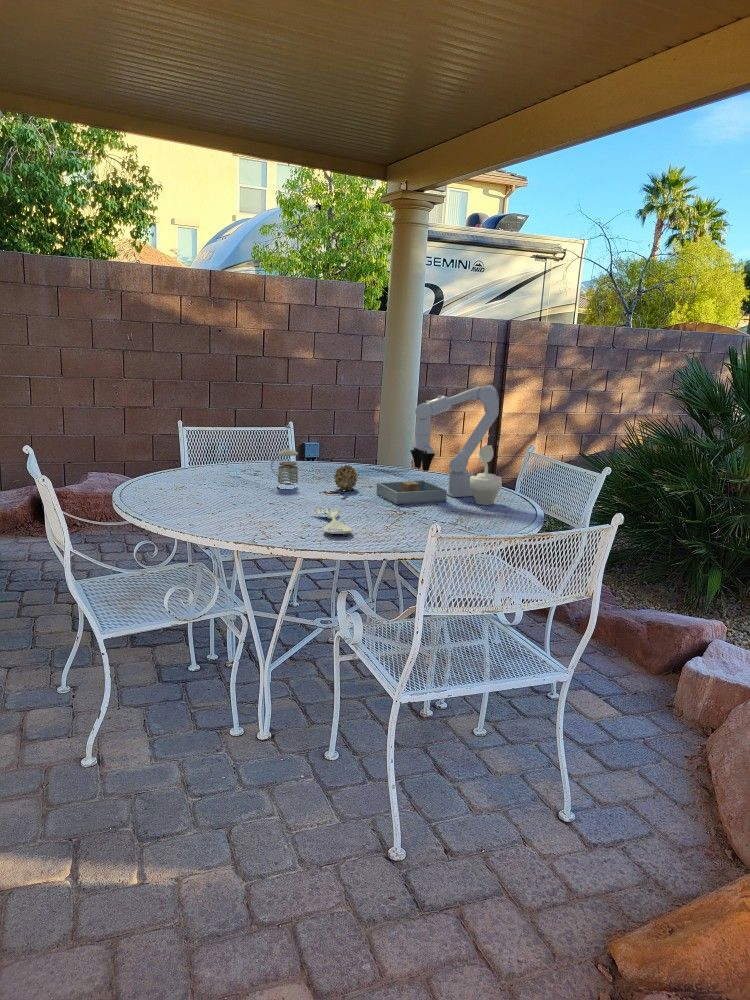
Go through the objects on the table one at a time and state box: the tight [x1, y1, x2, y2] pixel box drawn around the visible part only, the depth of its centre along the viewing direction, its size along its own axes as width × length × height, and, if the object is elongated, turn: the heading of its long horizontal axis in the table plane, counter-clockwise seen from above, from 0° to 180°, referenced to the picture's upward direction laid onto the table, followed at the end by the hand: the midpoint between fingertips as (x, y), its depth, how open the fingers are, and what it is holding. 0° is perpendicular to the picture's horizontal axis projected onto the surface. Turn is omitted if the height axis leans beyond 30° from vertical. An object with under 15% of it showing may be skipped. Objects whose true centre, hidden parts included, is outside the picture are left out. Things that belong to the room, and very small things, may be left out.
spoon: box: [313, 505, 354, 535], centre depth 233 cm, size 9×32×4 cm, turn 12°
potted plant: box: [470, 441, 504, 506], centre depth 268 cm, size 13×12×25 cm
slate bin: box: [376, 480, 448, 505], centre depth 277 cm, size 20×20×4 cm
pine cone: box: [333, 464, 358, 491], centre depth 285 cm, size 22×10×10 cm, turn 1°
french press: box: [270, 424, 299, 485], centre depth 290 cm, size 10×12×25 cm
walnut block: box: [401, 481, 419, 492], centre depth 277 cm, size 5×5×5 cm
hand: (421, 469), depth 285 cm, fingers open, 7 cm apart
